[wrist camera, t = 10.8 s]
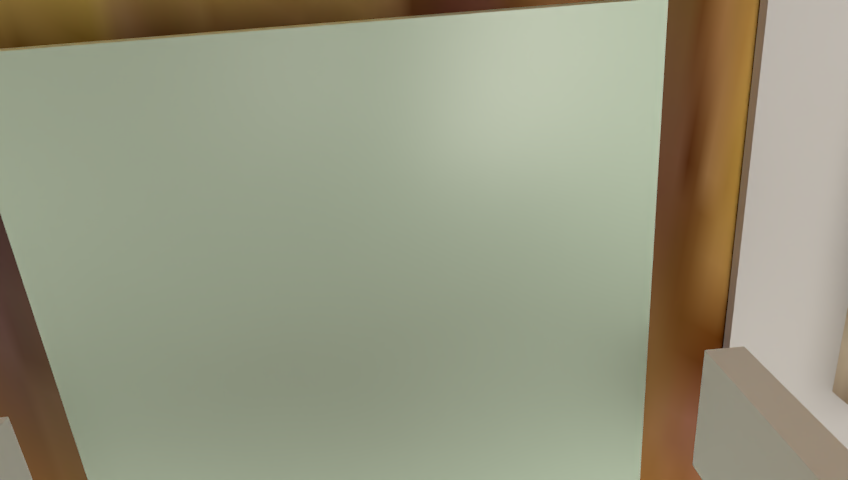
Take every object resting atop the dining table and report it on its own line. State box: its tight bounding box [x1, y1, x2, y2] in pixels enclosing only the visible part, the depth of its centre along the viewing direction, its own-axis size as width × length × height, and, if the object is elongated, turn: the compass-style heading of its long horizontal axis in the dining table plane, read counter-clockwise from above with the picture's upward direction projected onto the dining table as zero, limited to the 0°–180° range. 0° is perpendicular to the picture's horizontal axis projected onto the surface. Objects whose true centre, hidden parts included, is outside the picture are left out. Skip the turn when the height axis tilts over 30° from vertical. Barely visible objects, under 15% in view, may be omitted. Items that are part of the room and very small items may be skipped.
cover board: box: [0, 0, 668, 480], centre depth 14 cm, size 16×12×2 cm
